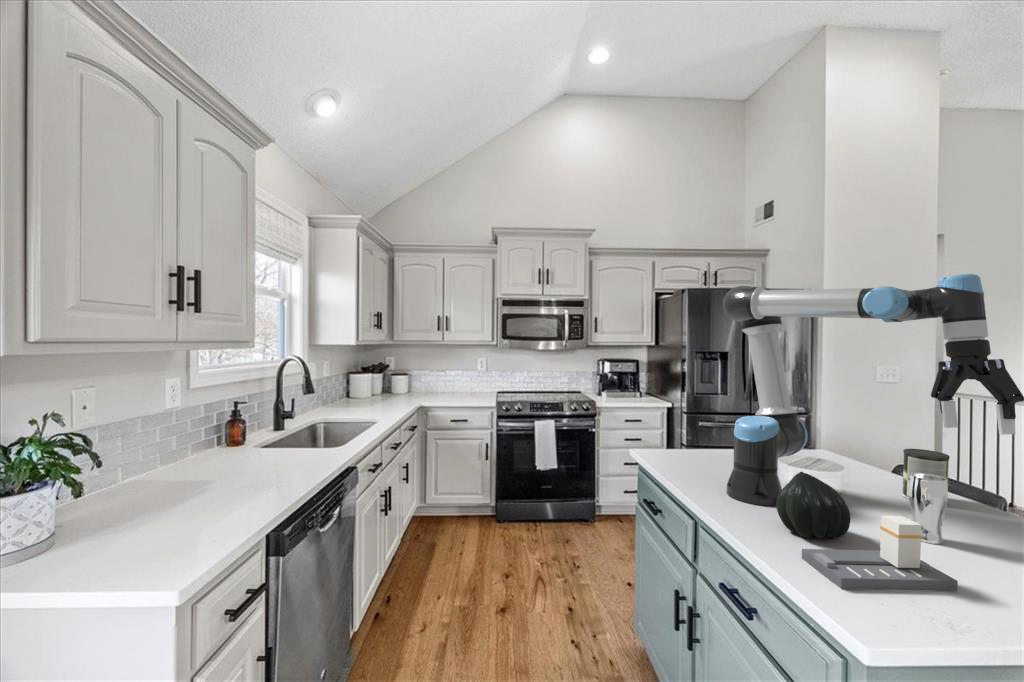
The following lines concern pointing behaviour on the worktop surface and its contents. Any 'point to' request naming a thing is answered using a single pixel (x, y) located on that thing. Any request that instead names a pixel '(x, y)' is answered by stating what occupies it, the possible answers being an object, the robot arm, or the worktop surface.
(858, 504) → the worktop surface
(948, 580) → the panel
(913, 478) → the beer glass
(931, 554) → the worktop surface
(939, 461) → the coffee can
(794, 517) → the squash
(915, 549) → the fader knob
